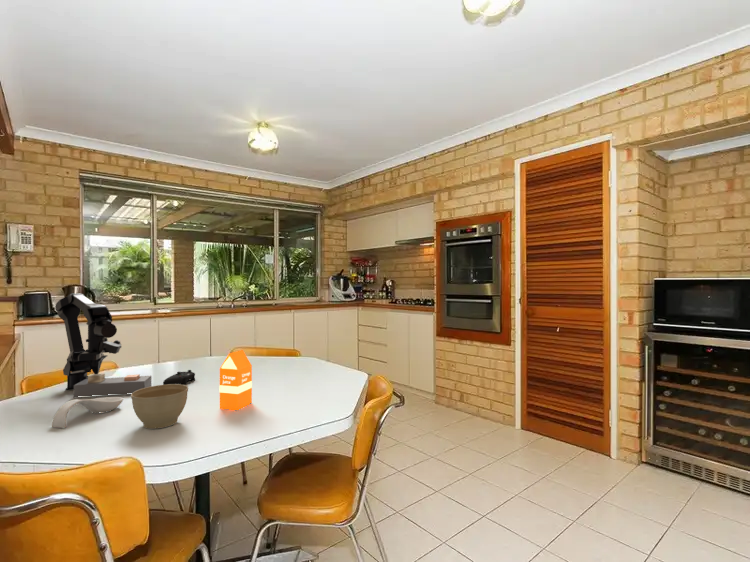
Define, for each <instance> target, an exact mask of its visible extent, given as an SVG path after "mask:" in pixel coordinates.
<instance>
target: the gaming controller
mask: <svg viewBox="0 0 750 562" xmlns="http://www.w3.org/2000/svg"><path fill="white" fill-rule="evenodd" d="M195 376H196V373H195V372H193V371H192V370H191V369H188V370H187V371H177V373H174V374H173V375H170V376H168V377H167V378H165V379H164V380H163V382H162V385H167V384H180V385H187V384H188V383H187V382H188V381H195V380H196V377H195Z"/></svg>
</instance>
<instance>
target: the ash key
mask: <svg viewBox="0 0 750 562" xmlns="http://www.w3.org/2000/svg"><path fill="white" fill-rule="evenodd" d="M87 376H88V383H97V382H102V381H104V380H105V378H106V374H105V373H98V374H94V373H92V374H89V375H87Z"/></svg>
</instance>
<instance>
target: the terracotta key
mask: <svg viewBox="0 0 750 562" xmlns="http://www.w3.org/2000/svg"><path fill="white" fill-rule="evenodd" d="M140 376H141V374H127V375H126V376H123V377H124V381H132V380H138V379H139V378H140Z"/></svg>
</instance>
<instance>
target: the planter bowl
mask: <svg viewBox="0 0 750 562" xmlns="http://www.w3.org/2000/svg"><path fill="white" fill-rule="evenodd" d="M188 392H189V386H188V385H187V384H185V385H181V384H167V385H163V384H158V385H151V387H147V388H143V389H140V390H137V391H135V392H133V393H132V394H130V397H131V398H130V399H131V402H132V403H131V404H132V408H133V410H134V414H135V416H136V417H137V419H138V420H139V421H140V422H141V423H142V424H143V428H145V429H148V430H149V429H151V430H152V429H153V430H155V429H161V428H162V429H163V428H167V427H171V426H173V425H175V424H176V423H177V422H178V421H179V419H178V418H179V417H180V416H181V414H182V413H183V411H184V409H185V407H186V404H187V400H188Z"/></svg>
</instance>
